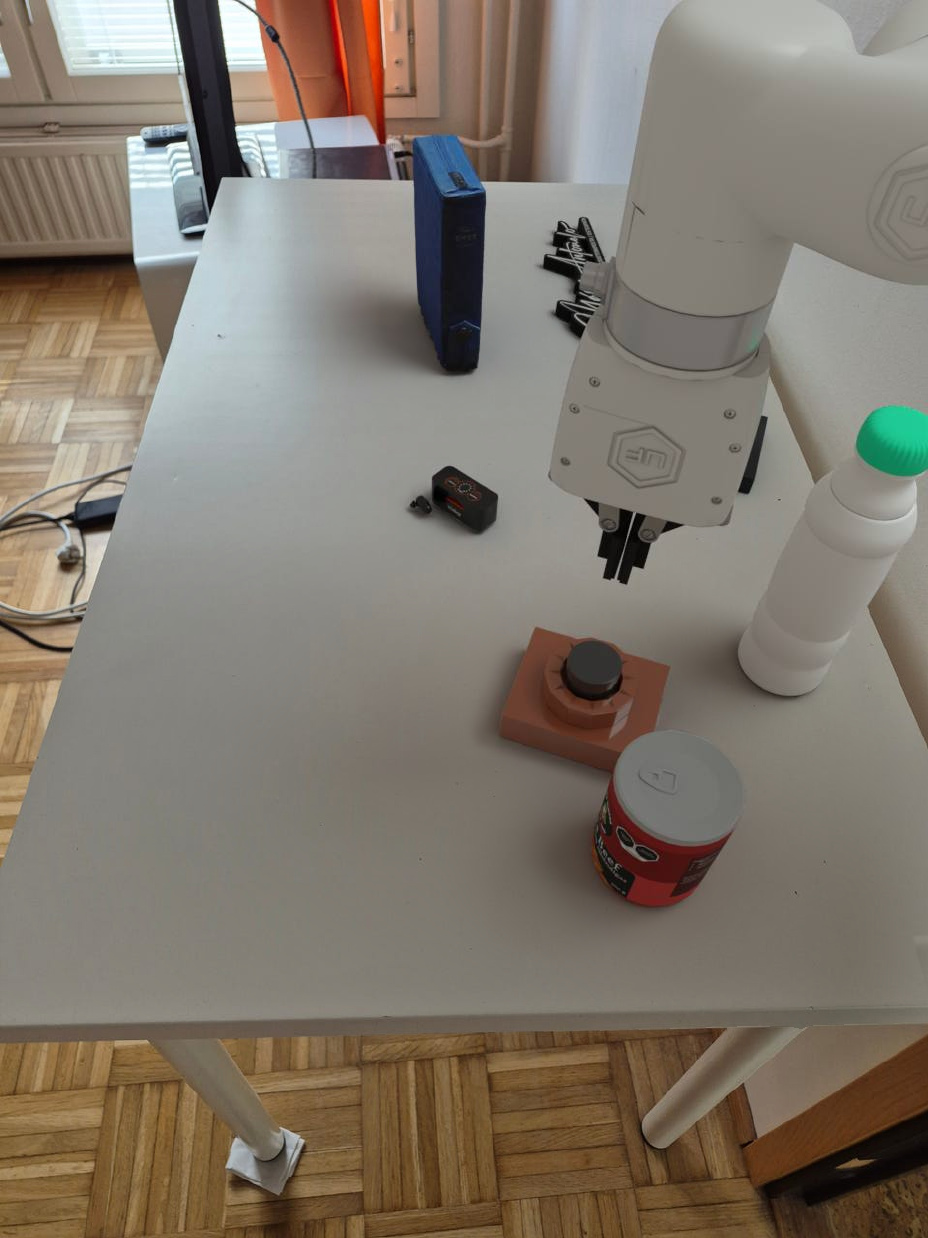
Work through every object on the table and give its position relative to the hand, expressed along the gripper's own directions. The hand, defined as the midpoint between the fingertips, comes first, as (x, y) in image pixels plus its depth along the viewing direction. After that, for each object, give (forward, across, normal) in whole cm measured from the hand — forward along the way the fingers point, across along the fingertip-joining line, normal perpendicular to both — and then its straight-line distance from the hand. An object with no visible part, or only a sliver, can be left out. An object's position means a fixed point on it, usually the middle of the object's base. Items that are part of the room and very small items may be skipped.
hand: (619, 565), depth 56 cm
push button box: (+17, 0, 0) cm, 17 cm away
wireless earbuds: (+17, -17, +17) cm, 30 cm away
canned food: (+17, +7, -10) cm, 21 cm away
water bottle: (+17, +14, +10) cm, 25 cm away
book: (+17, -27, +43) cm, 54 cm away
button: (+12, 0, 0) cm, 12 cm away
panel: (+17, +3, +35) cm, 39 cm away
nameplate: (+17, -15, +60) cm, 64 cm away
